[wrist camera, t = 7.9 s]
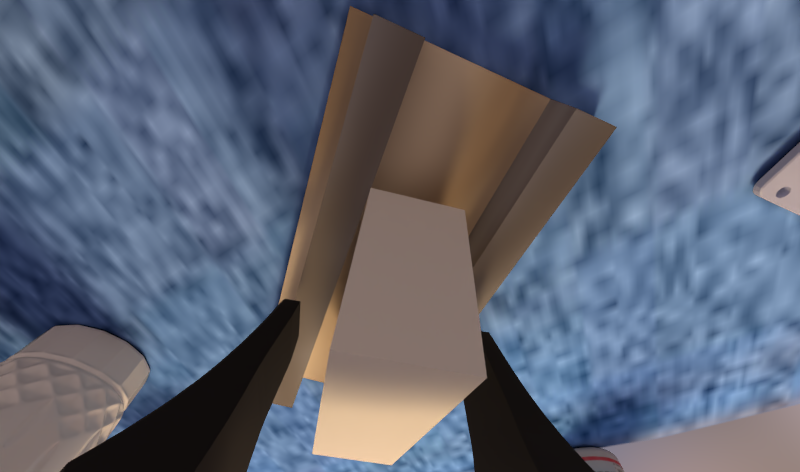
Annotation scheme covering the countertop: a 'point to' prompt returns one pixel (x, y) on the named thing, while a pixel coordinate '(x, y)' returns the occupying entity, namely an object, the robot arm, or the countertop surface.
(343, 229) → the sliding track
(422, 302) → the cream rectangular block
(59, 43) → the countertop surface
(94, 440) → the white cup
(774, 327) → the countertop surface
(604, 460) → the pill bottle
